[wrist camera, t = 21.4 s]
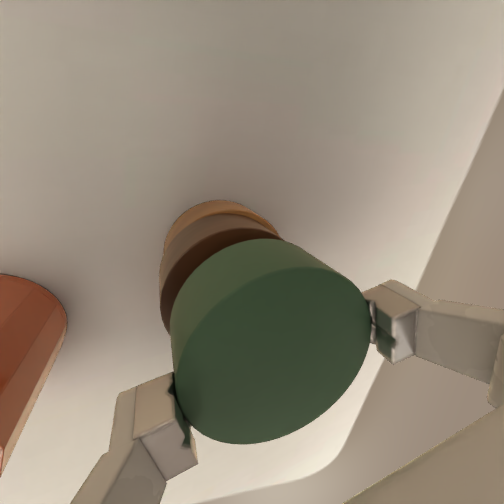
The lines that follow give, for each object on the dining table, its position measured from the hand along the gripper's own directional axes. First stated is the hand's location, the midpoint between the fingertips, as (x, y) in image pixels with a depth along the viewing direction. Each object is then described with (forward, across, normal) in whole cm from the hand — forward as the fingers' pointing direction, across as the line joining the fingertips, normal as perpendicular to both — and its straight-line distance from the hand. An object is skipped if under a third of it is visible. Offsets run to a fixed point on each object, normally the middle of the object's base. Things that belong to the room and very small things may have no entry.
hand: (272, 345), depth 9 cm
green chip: (+2, 0, 0) cm, 2 cm away
